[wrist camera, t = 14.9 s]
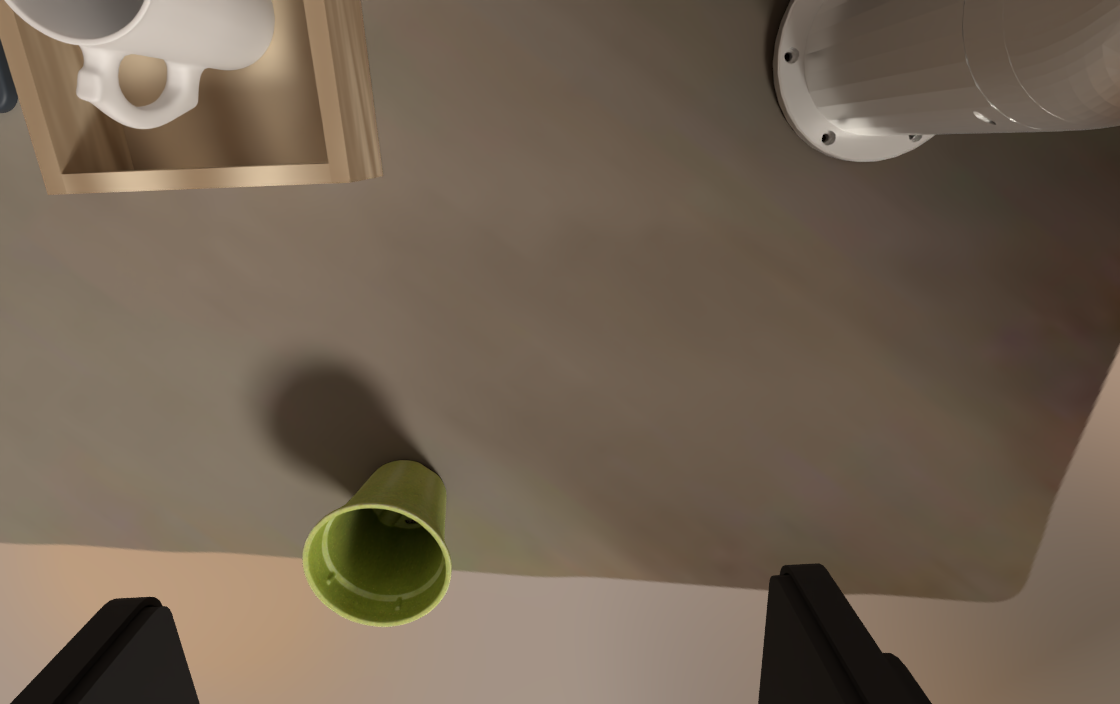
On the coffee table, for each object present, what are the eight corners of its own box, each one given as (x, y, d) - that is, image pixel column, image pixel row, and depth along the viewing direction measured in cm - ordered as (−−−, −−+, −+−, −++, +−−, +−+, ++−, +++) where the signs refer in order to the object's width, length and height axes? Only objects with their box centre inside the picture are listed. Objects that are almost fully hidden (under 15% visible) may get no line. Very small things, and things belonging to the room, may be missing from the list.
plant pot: (363, 553, 48) (326, 637, 40) (329, 450, 45) (282, 517, 37) (478, 534, 48) (465, 615, 40) (451, 429, 45) (431, 493, 37)
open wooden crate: (344, -123, 34) (296, -188, 27) (383, 176, 39) (350, 182, 32) (55, -113, 33) (-66, -176, 27) (132, 186, 39) (48, 194, 32)
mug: (163, -74, 33) (-34, -185, 22) (286, -37, 34) (158, -127, 23) (155, 115, 36) (-21, 103, 25) (268, 145, 37) (148, 146, 26)
